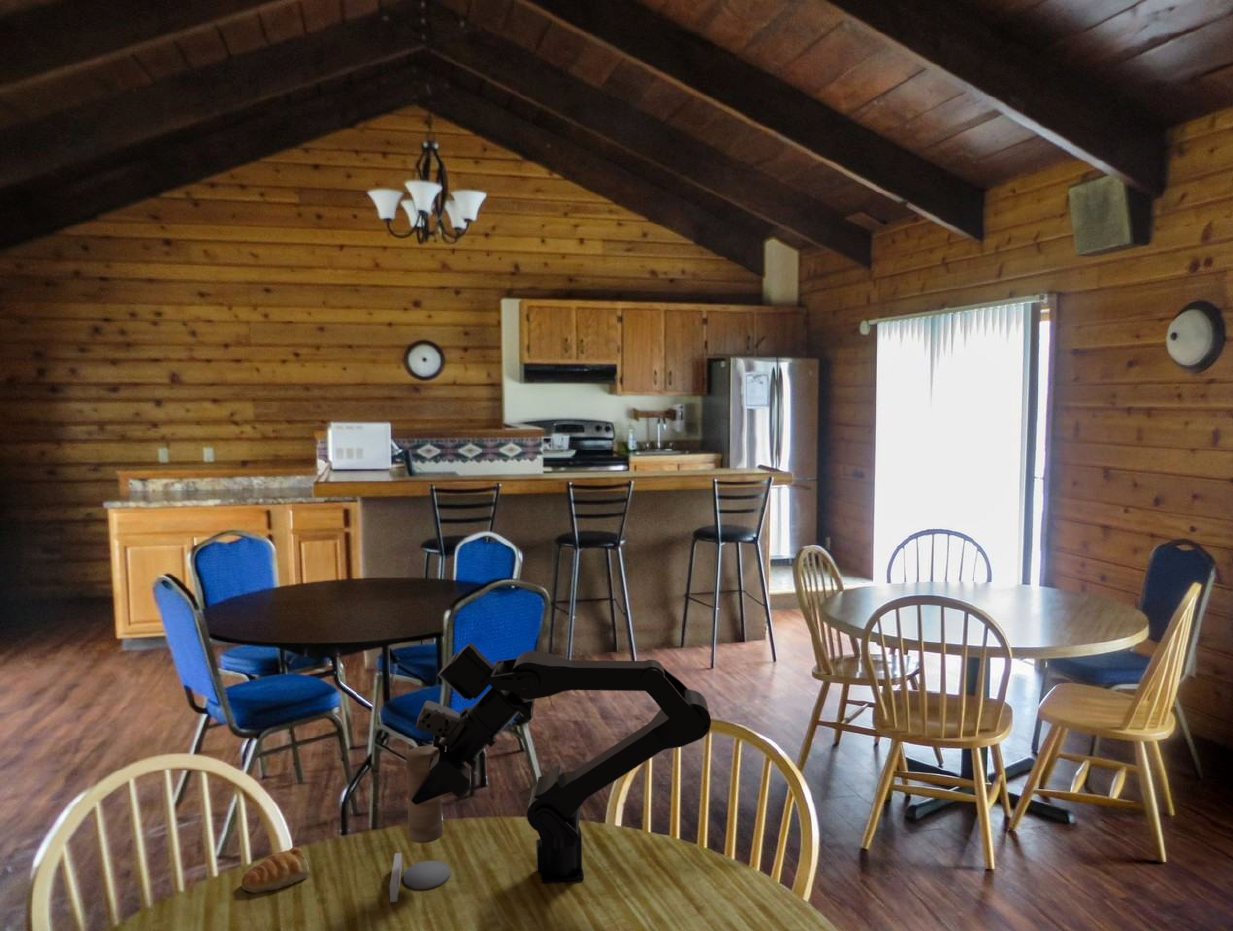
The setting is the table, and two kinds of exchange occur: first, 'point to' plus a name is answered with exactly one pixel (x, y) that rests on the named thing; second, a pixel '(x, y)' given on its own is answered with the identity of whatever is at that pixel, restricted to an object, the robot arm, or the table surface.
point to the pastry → (277, 871)
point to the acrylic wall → (395, 877)
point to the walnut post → (429, 813)
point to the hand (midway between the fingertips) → (415, 793)
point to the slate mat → (426, 874)
